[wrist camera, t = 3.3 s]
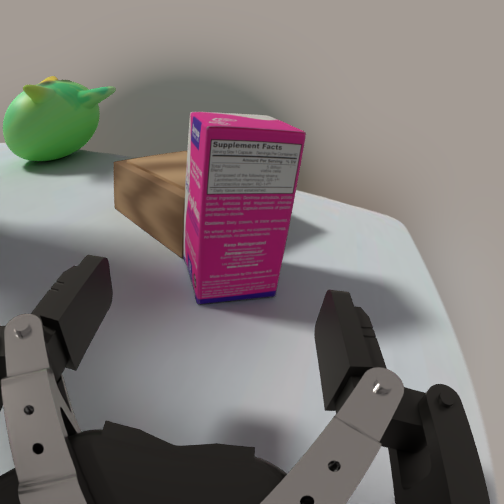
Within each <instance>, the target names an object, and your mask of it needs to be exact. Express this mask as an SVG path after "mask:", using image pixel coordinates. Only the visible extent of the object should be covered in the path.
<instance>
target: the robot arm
mask: <svg viewBox="0 0 504 504" xmlns="http://www.w3.org/2000/svg"><path fill="white" fill-rule="evenodd" d="M112 295H113V292H112V284H111V277H110V269H109V262H108V259H107V258H105V257H99V256H93V255H87V256H86V257H85V258H84V259H83V260H82V262H81V263H80V264H79V265H78V266H73V267H72V268H70V269H68V270H67V271H65V272H64V273H63V274H62V275H61V276H60V277H59V279H58V280H57V282H56V283H55V284H54V285H53V286H52V287H51V290H49V291H48V292H47V294H46V295H45V296H44V297H43V299H42V300H41V301H40V302H39V304H38V305H37V306H36V308H35V309H34V310H33V312H32V313H31V314H21V315H18V316H16V317H14V318H13V319H11V320H10V321H9V322H8V324H7V325H6V326H0V411H1V408H2V406H3V407H4V414H5V421H6V427H7V432H8V438H9V443H10V447H11V452H12V456H13V461H14V465H15V468H14V469H12V470H10V471H8V472H6V473H5V474H3V475H1V476H0V504H346V502H347V501H348V500H349V498H350V497H351V495H352V494H353V492H354V491H355V489H356V487H357V486H358V484H359V483H360V481H361V480H362V478H363V476H364V475H365V473H366V472H367V470H368V468H369V467H370V465H371V463H372V461H373V460H374V458H375V456H376V455H377V453H378V451H379V449H380V447H381V446H383V447H388V450H389V456H390V463H391V471H392V478H393V486H394V495H395V504H490V501H489V496H488V491H487V487H486V483H485V478H484V474H483V470H482V467H481V463H480V459H479V455H478V452H477V448H476V445H475V442H474V438H473V435H472V432H471V429H470V425H469V422H468V419H467V416H466V413H465V410H464V408H463V405H462V402H461V399H460V397H459V395H458V394H457V393H456V392H455V391H454V390H453V389H452V388H450V387H449V386H446V385H443V384H436V385H433V386H431V387H430V388H429V390H428V391H427V392H426V393H424V392H420V391H416V390H412V389H408V388H405V387H404V386H403V383H402V381H401V379H400V378H399V377H398V376H397V375H396V374H395V373H394V372H392V371H390V370H388V369H387V368H386V365H385V362H384V359H383V356H382V353H381V350H380V347H379V344H378V341H377V338H375V337H376V335H375V333H374V330H373V329H372V328H373V327H372V324H371V321H370V319H369V316H368V315H367V314H366V313H365V312H364V311H363V310H362V308H361V307H354V305H353V302H352V299H351V296H350V293H349V292H344V291H335V290H328V291H327V293H326V295H325V298H324V301H323V304H322V307H321V310H320V313H319V315H318V318H317V321H316V325H315V343H316V350H317V357H318V363H319V370H320V377H321V385H322V392H323V399H324V407H325V411H336V416H334V417H333V419H332V420H331V421H330V423H329V424H328V425H327V427H326V428H325V429H324V430H323V432H322V433H321V434H320V436H319V437H318V438H317V439H316V441H315V442H314V443H313V444H312V446H311V447H310V448H309V449H308V451H307V452H306V453H305V454H304V455H303V457H302V458H301V459H300V460H299V461H298V463H297V464H296V465H295V466H294V467H293V468H292V470H291V471H290V472H289V473H288V474H286V473H285V472H284V471H283V470H281V469H280V468H278V467H277V466H275V465H273V464H272V463H270V462H268V461H265V460H263V459H261V458H257V457H254V453H255V447H244V446H234V445H225V444H217V443H216V444H204V445H188V446H176V445H172V444H170V443H168V442H166V441H163V440H161V439H159V438H157V437H155V436H152V435H150V434H148V433H146V432H144V431H142V430H140V429H136V428H132V427H128V426H124V425H120V424H116V423H113V422H109V421H105V424H104V427H103V430H101V429H99V430H88V431H83V432H82V431H81V429H80V427H79V425H78V423H77V420H76V418H75V415H74V412H73V409H72V405H71V402H70V399H69V395H68V392H67V388H66V385H65V381H64V378H63V375H62V372H63V371H64V369H65V367H66V368H69V369H72V370H77V368H78V366H79V364H80V362H81V360H82V358H83V356H84V354H85V352H86V350H87V348H88V346H89V345H90V343H91V341H92V339H93V337H94V335H95V333H96V331H97V330H98V328H99V326H100V324H101V322H102V320H103V319H104V317H105V315H106V313H107V311H108V310H109V308H110V306H111V302H112Z"/></svg>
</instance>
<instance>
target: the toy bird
mask: <svg viewBox="0 0 504 504" xmlns="http://www.w3.org/2000/svg"><path fill="white" fill-rule="evenodd" d="M23 90H24V91H23V92H22V93H20V94H19V95H18V96H17V97H16V98H15V99H14V100H13V101H12V103H11V104H10V105H9V107H8V109H7V111H6V114H5V117H4V121H3V135H4V139H5V142H6V144H7V146H8V147H9V149H10V150H11V151H12V152H13V153H14V154H15V155H17V156H19V157H21V158H23V159H26V160H31V161H50V160H56V159H59V158H62V157H65V156H68V155H70V154H72V153H74V152H75V151H77V150H79V149H80V148H81V147H83V146H84V145H85V144H86V143H87V142H88V141H89V139H90V138H91V137H92V136H93V134H94V132H95V130H96V128H97V126H98V122H99V114H100V113H99V106H98V103H100V102H101V101H102V100H104V99H106V98H107V97H109V96H110V95H111V94H113V93H114V92H115V91H116V88H115V87H112V86H110V87H101V88H96V89H91V90H89V89H87V88H86V87H84V86H83V85H81V84H78V83H75V82H72V81H69V80H58V79H57V78H56V77H54V76H51V77H48V78H46V79H45V80H43V81H42V82H41V83H39V84H37V85H25V86H24V87H23Z"/></svg>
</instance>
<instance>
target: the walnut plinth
mask: <svg viewBox="0 0 504 504" xmlns="http://www.w3.org/2000/svg"><path fill="white" fill-rule="evenodd" d="M186 167H187V151H180V152H173V153H166V154H159V155H152V156H146V157H139V158H133V159H128V160H122V161H116V162H114V203H115V209H117V210H118V211H119V212H121V213H122V214H123V215H125V216H126V217H127V218H129V219H130V220H131V221H132V222H134V223H135V224H136V225H138V226H139V227H140V228H142V229H143V230H144V231H146V232H147V233H148V234H150V235H151V236H152V237H154V238H155V239H156V240H158V241H159V242H161V243H162V244H163V245H165V246H166V247H167V248H169V249H170V250H171V251H173V252H174V253H175V254H177V255H178V256H180V257H181V258H183V257H184V211H185V182H186Z"/></svg>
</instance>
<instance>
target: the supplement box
mask: <svg viewBox="0 0 504 504" xmlns="http://www.w3.org/2000/svg"><path fill="white" fill-rule="evenodd" d="M305 135H306V133H305V132H304V131H302V130H300V129H297V128H295V127H293V126H291V125H288V124H286V123H284V122H282V121H279V120H277V119H274V118H272V117H270V116H265V115H250V114H249V115H248V114H231V113H230V114H229V113H214V112H191V113H190V125H189V137H188V151H187V167H186V182H185V211H184V261H185V263H186V266H187V268H188V272H189V275H190V279H191V282H192V285H193V289H194V292H195V298H196V301H197V303H198V304H206V303H217V302H226V301H236V300H245V299H255V298H266V297H274V296H275V295H276V289H277V284H278V279H279V274H280V269H281V264H282V259H283V254H284V250H285V245H286V240H287V235H288V229H289V224H290V219H291V213H292V208H293V203H294V197H295V192H296V187H297V181H298V175H299V170H300V165H301V159H302V153H303V148H304V142H305Z"/></svg>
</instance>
